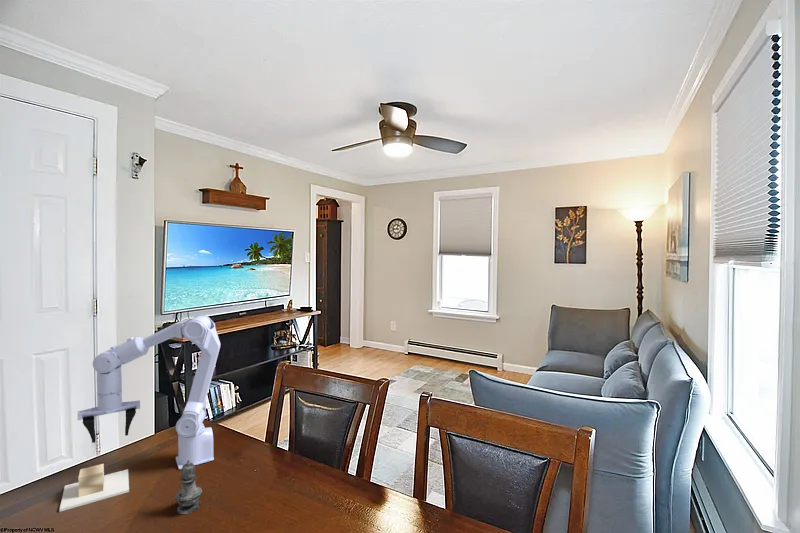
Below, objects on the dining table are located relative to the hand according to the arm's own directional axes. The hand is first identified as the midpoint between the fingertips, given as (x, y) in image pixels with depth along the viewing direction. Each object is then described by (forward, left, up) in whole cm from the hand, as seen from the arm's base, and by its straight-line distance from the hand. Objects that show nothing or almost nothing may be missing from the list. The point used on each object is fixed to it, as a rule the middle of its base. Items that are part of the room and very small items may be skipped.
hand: (110, 437), depth 114 cm
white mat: (+3, +10, -9) cm, 14 cm away
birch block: (+4, +10, -9) cm, 14 cm away
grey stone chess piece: (-16, +32, -10) cm, 37 cm away
